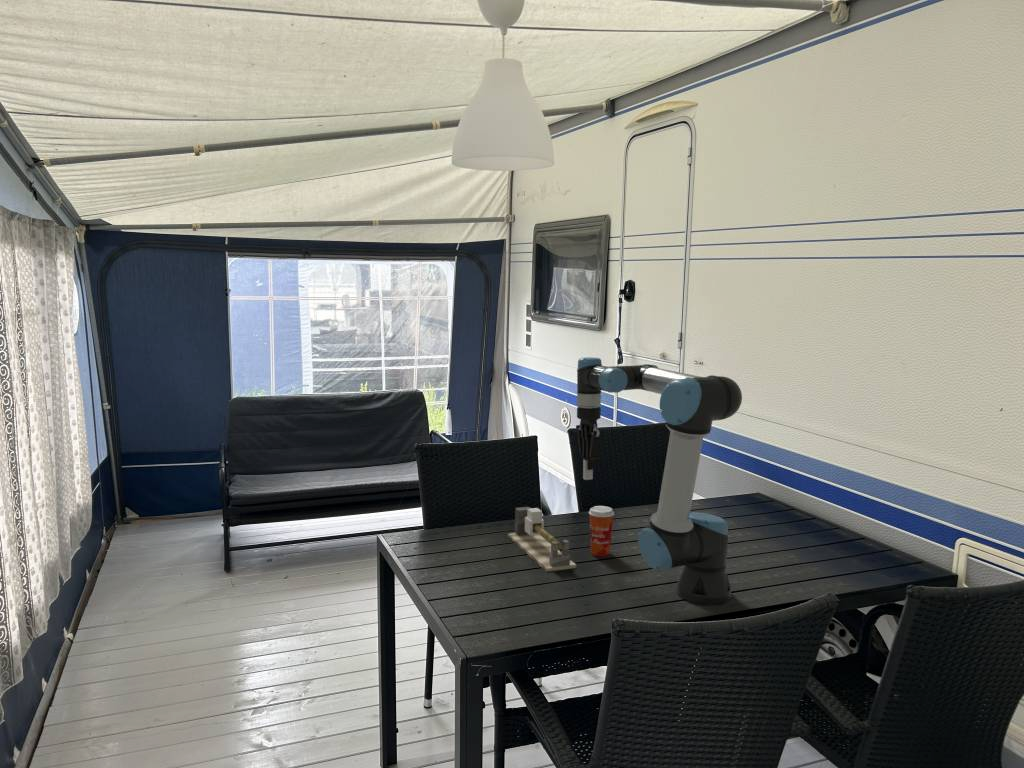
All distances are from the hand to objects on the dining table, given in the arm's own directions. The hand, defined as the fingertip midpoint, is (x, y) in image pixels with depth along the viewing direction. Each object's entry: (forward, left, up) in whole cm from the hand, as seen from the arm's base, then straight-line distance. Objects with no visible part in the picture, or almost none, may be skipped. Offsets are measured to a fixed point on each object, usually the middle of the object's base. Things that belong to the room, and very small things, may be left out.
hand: (587, 478), depth 246 cm
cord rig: (+8, +13, -25) cm, 30 cm away
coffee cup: (0, -5, -26) cm, 26 cm away
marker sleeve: (+13, +13, -21) cm, 28 cm away
